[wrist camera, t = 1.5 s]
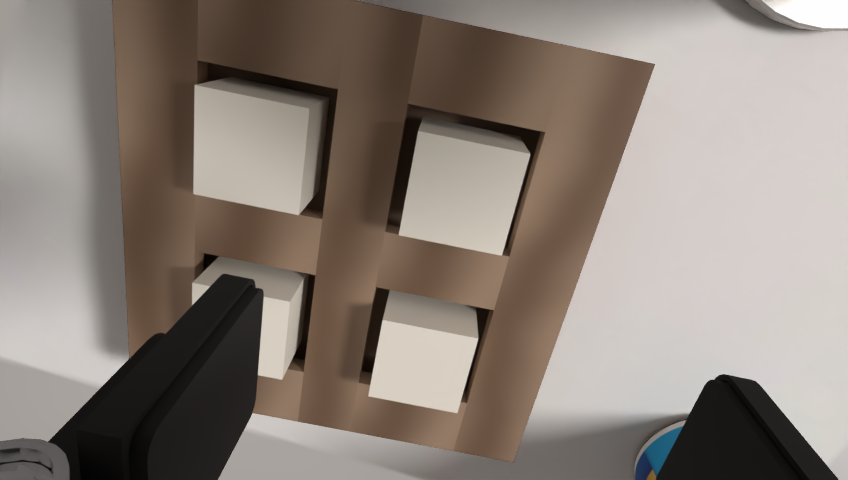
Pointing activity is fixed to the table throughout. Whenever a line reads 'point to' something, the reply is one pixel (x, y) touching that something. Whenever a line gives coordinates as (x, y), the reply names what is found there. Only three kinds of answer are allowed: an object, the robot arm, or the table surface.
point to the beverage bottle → (656, 452)
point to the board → (371, 193)
